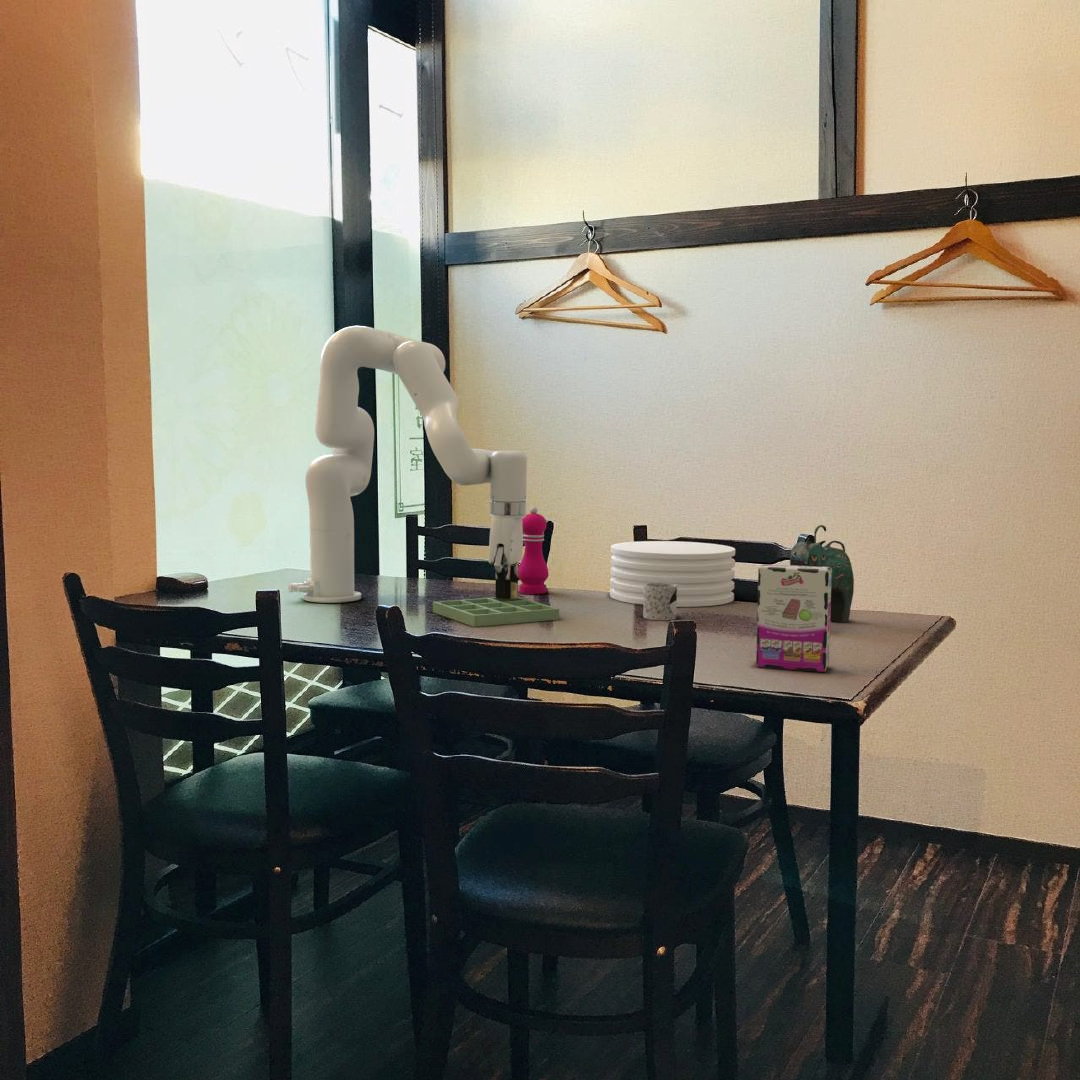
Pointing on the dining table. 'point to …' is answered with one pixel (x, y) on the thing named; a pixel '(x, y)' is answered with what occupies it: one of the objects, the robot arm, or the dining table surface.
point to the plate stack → (673, 571)
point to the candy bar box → (793, 617)
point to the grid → (495, 611)
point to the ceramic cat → (840, 576)
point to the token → (513, 590)
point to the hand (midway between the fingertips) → (506, 595)
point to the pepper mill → (533, 555)
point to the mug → (660, 601)
